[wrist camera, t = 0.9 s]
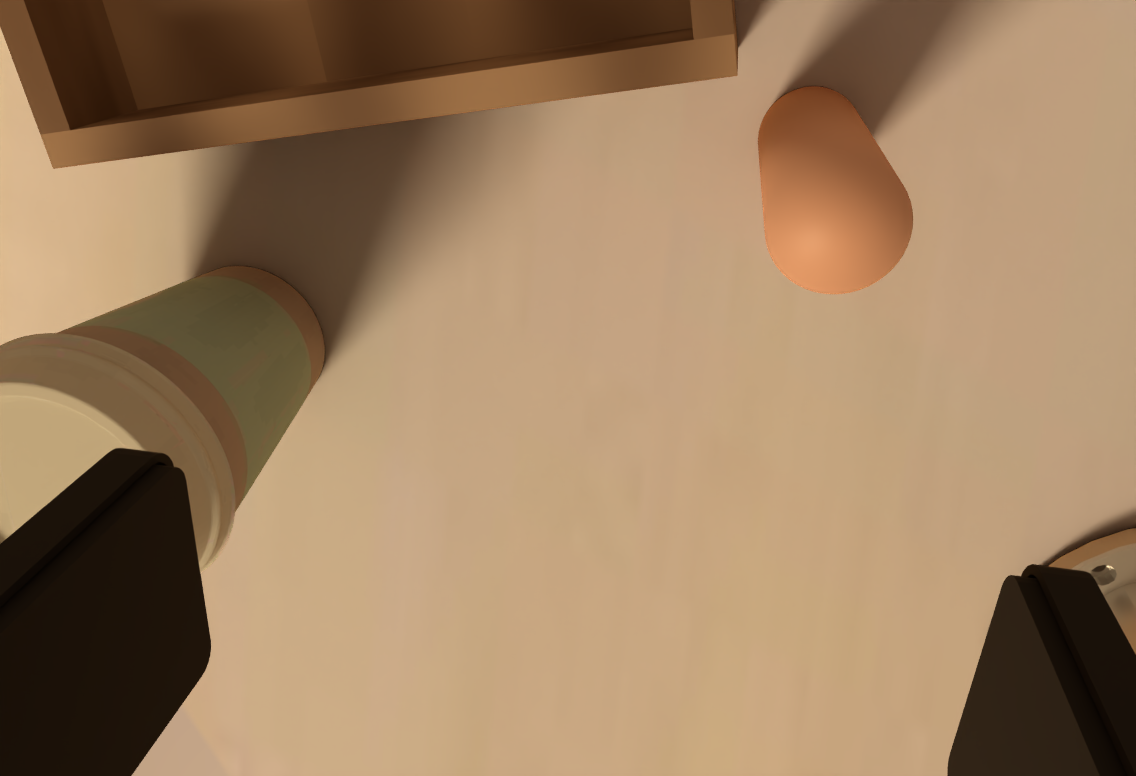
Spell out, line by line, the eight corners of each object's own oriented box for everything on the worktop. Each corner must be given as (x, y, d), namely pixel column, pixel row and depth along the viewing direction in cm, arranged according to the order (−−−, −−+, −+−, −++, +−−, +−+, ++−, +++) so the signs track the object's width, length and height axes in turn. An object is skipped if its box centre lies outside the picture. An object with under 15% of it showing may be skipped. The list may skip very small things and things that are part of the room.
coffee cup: (206, 181, 34) (-36, 296, 24) (401, 326, 35) (255, 497, 25) (114, 348, 38) (-130, 513, 27) (293, 473, 39) (126, 678, 29)
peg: (860, 79, 29) (912, 145, 20) (863, 183, 31) (913, 287, 22) (754, 93, 30) (760, 163, 21) (761, 194, 31) (769, 300, 22)
